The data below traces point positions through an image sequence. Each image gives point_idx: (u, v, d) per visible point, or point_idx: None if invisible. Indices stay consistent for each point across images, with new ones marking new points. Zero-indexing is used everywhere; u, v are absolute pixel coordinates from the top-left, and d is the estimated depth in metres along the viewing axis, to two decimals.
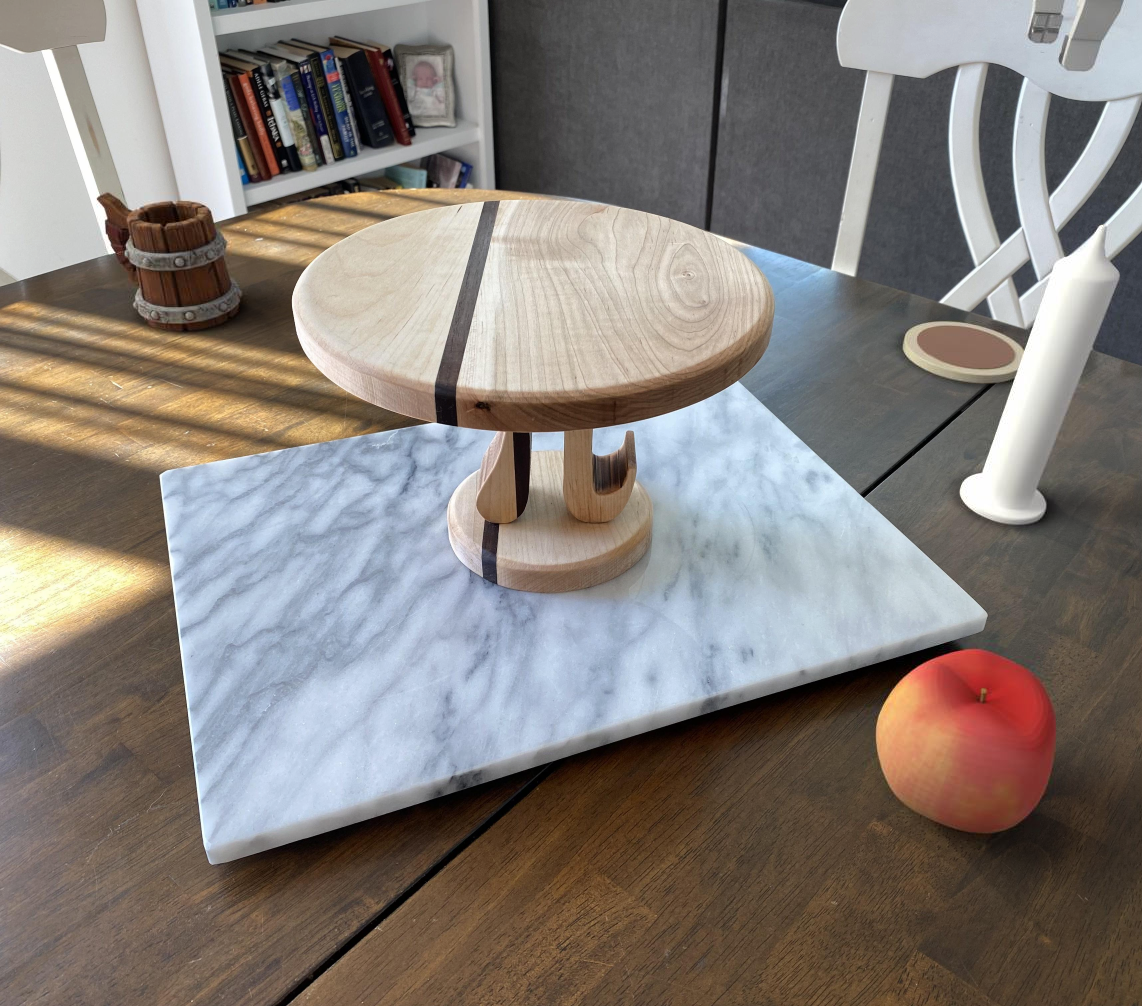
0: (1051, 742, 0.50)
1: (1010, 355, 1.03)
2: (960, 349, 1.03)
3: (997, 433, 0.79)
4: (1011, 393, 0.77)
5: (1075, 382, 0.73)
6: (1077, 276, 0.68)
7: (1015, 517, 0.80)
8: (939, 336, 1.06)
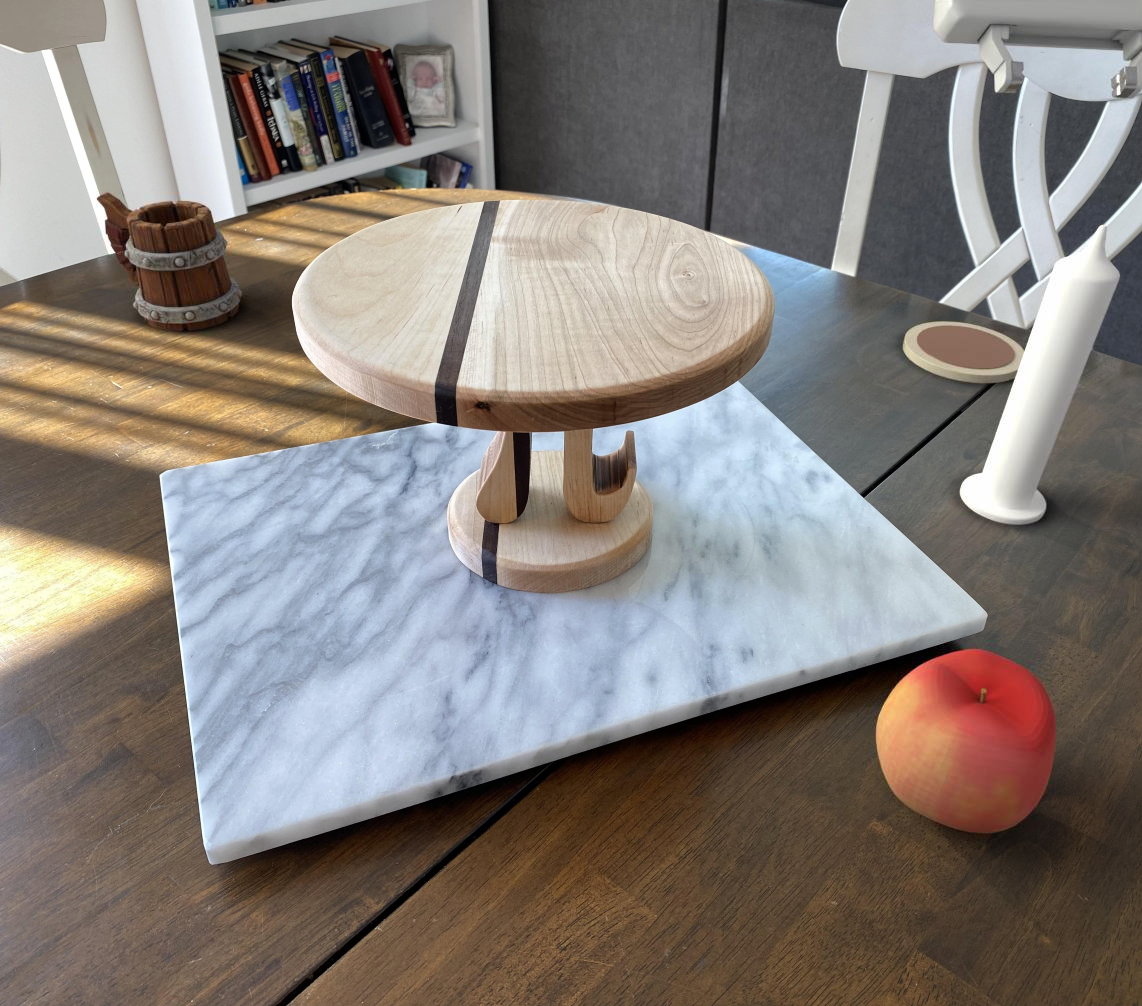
0: (1051, 742, 0.50)
1: (1010, 355, 1.03)
2: (960, 349, 1.03)
3: (997, 433, 0.79)
4: (1011, 393, 0.77)
5: (1075, 382, 0.73)
6: (1077, 276, 0.68)
7: (1015, 517, 0.80)
8: (939, 336, 1.06)
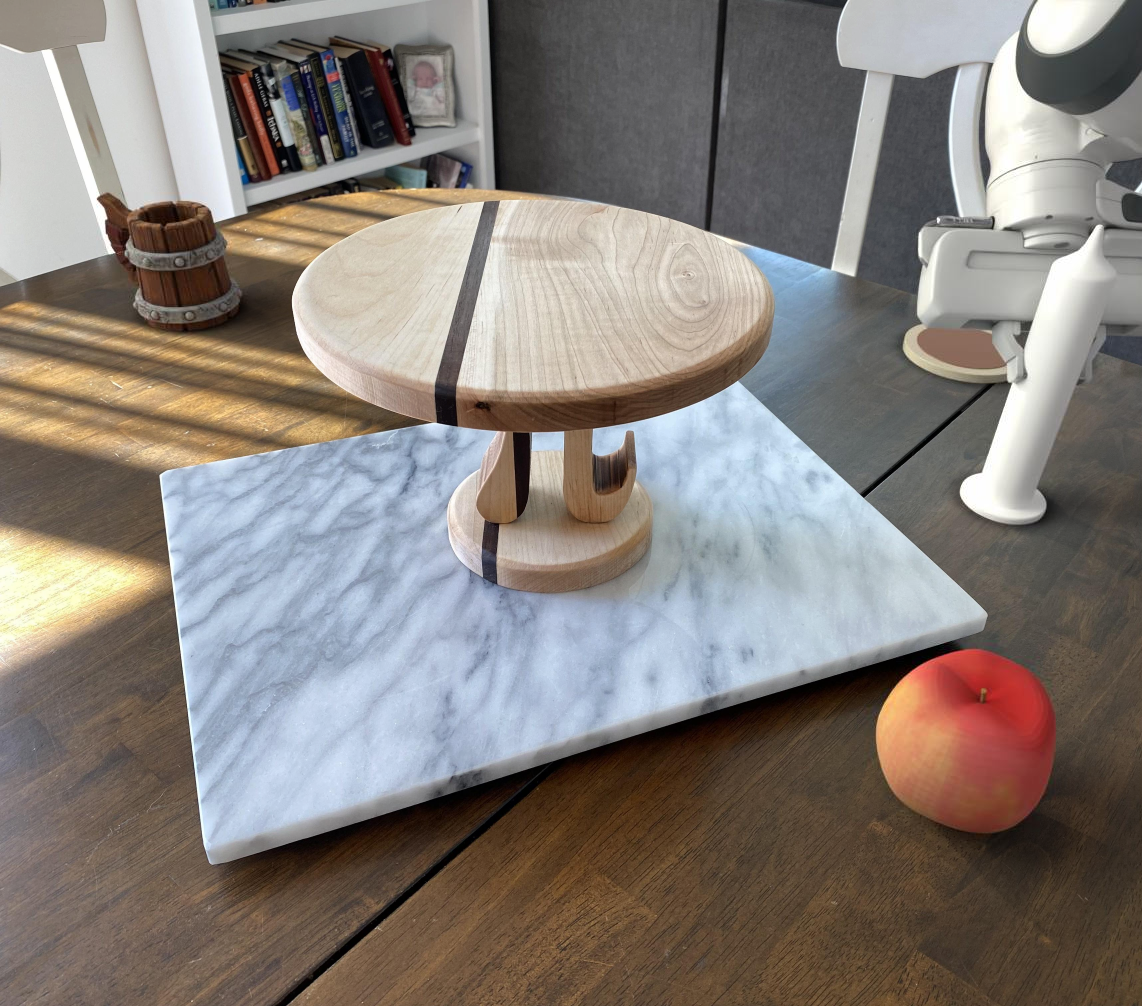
0: (1051, 742, 0.50)
1: None
2: (960, 349, 1.03)
3: (996, 433, 0.79)
4: (1010, 393, 0.77)
5: (1074, 382, 0.73)
6: (1074, 276, 0.68)
7: (1015, 517, 0.80)
8: (939, 336, 1.06)
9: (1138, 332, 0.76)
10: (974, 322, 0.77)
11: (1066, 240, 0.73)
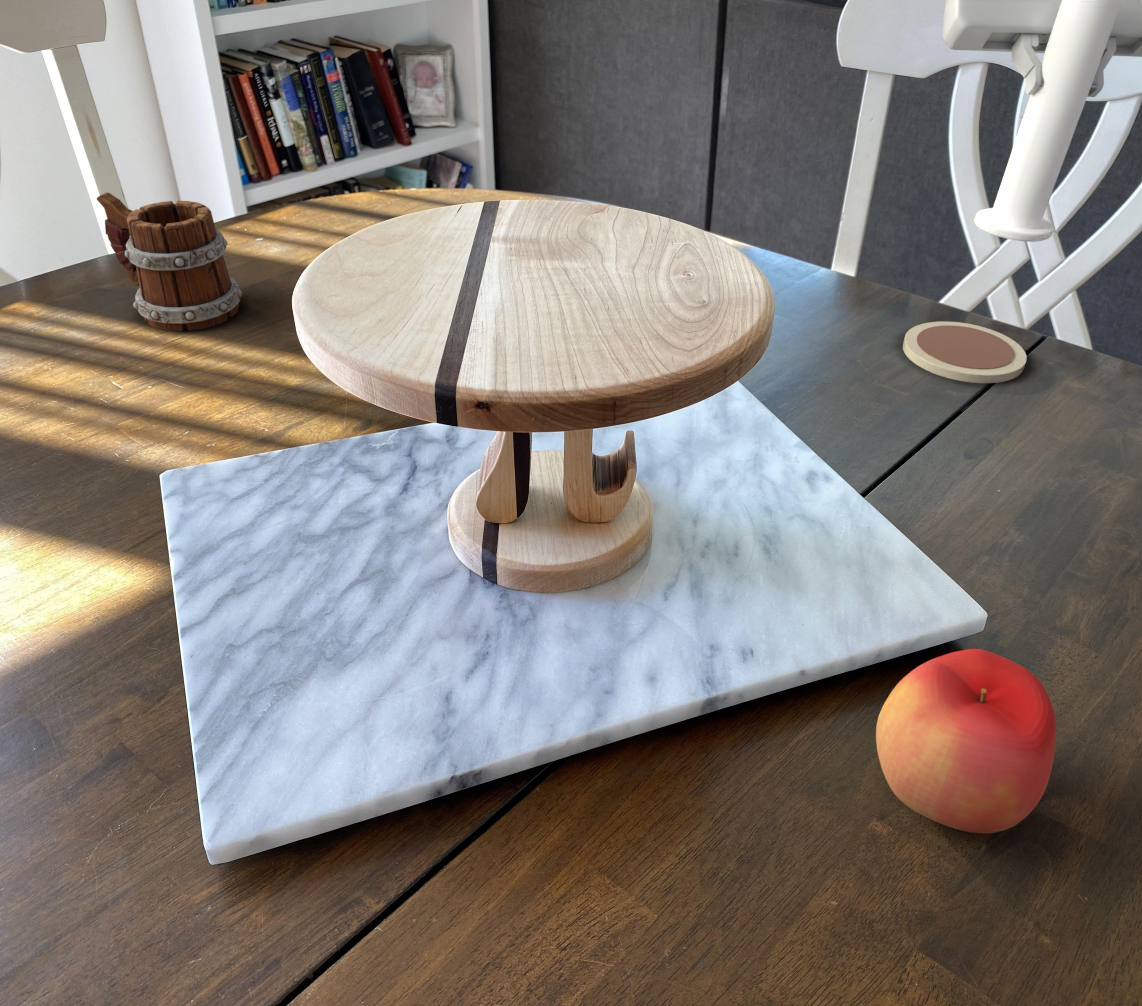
0: (1051, 742, 0.50)
1: (1010, 355, 1.03)
2: (960, 349, 1.03)
3: (1012, 152, 0.85)
4: (1027, 107, 0.83)
5: (1086, 87, 0.80)
6: None
7: (1025, 232, 0.86)
8: (939, 336, 1.06)
9: None
10: (995, 43, 0.83)
11: None
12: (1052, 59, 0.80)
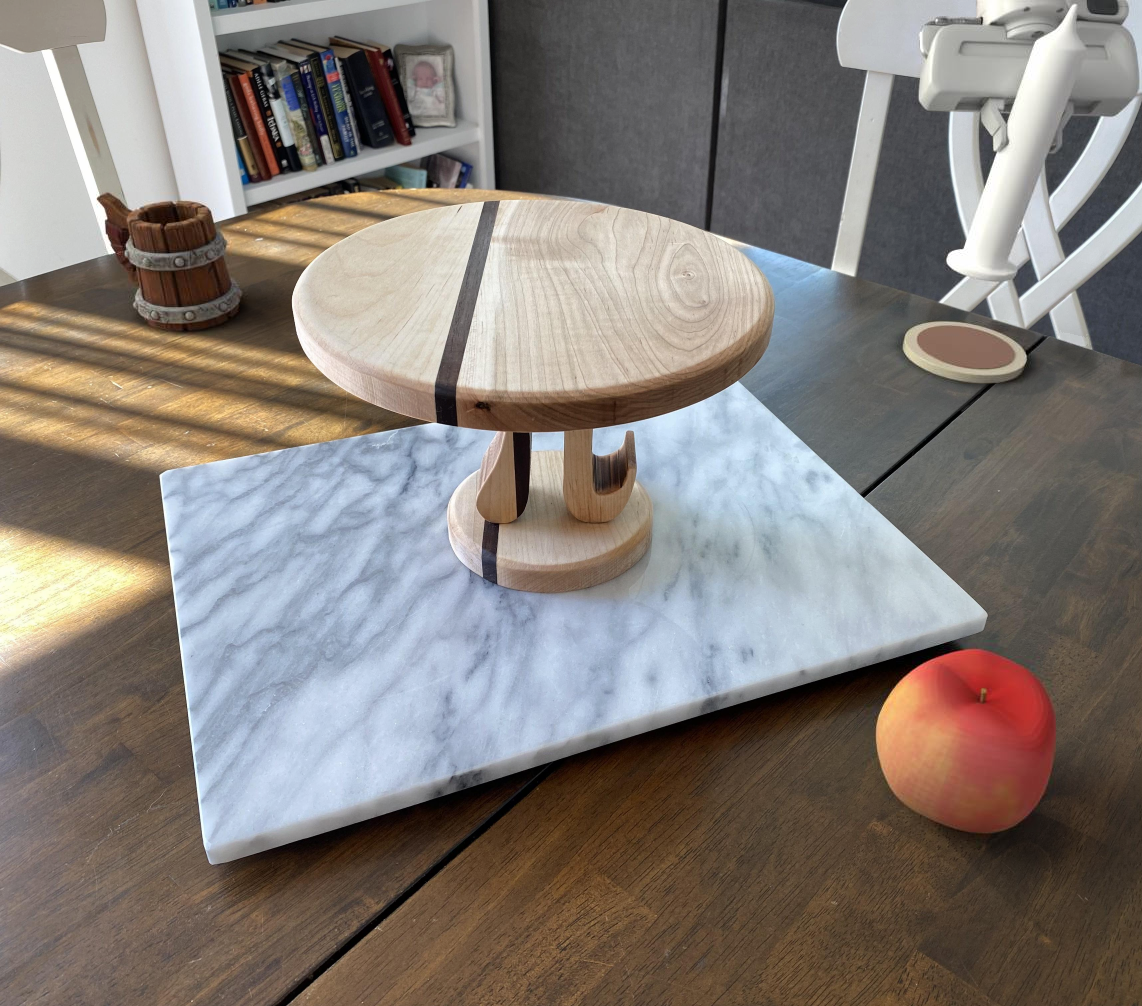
0: (1051, 742, 0.50)
1: (1010, 355, 1.03)
2: (960, 349, 1.03)
3: (980, 201, 0.95)
4: (994, 162, 0.93)
5: (1046, 147, 0.89)
6: (1052, 45, 0.85)
7: (991, 273, 0.96)
8: (939, 336, 1.06)
9: (1101, 110, 0.92)
10: (966, 105, 0.93)
11: (1041, 29, 0.89)
12: (1016, 121, 0.89)
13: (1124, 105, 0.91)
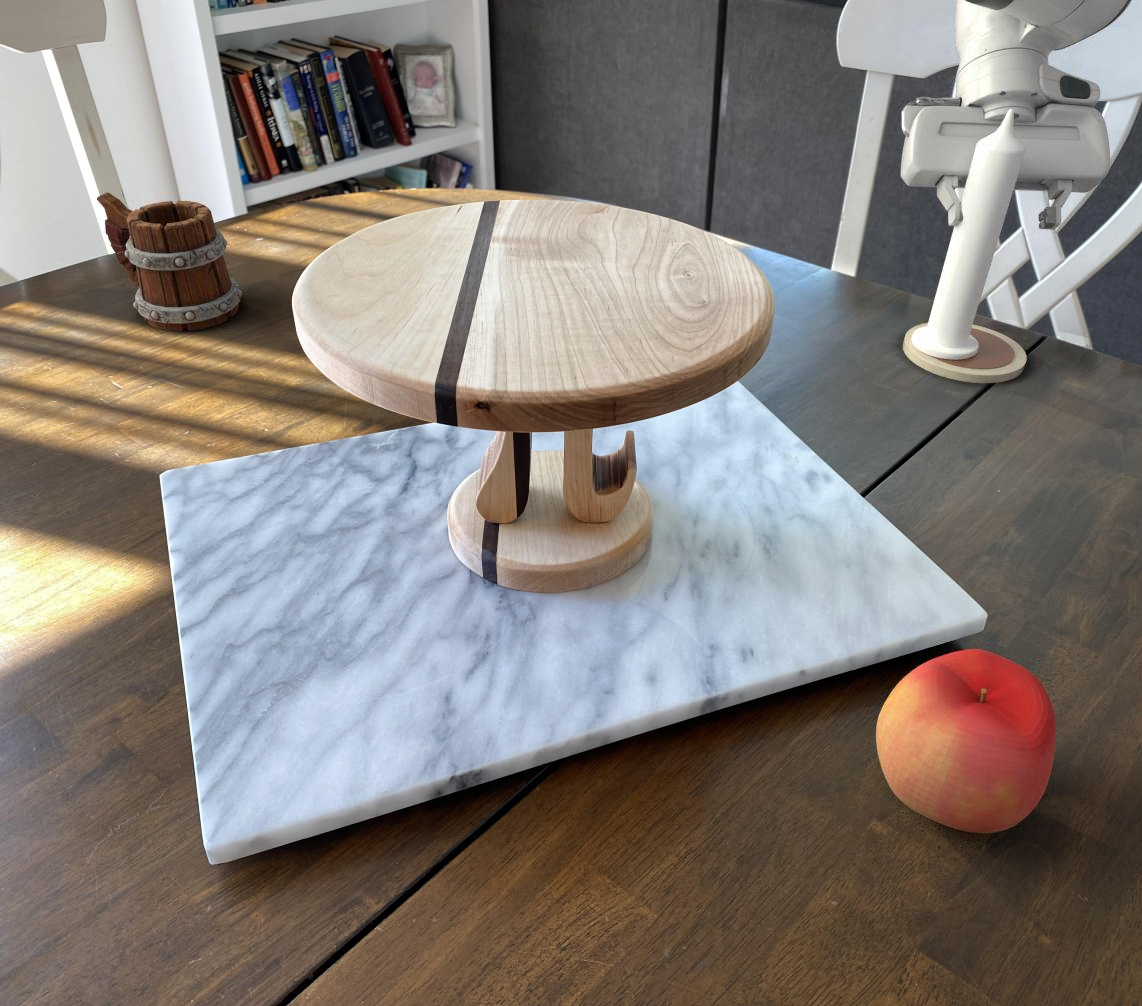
0: (1051, 742, 0.50)
1: (1010, 355, 1.03)
2: None
3: (938, 285, 1.00)
4: (948, 251, 0.98)
5: (995, 237, 0.95)
6: (992, 148, 0.90)
7: (953, 353, 1.01)
8: None
9: (1074, 187, 0.96)
10: None
11: (1016, 112, 0.94)
12: (965, 215, 0.94)
13: (1096, 183, 0.95)
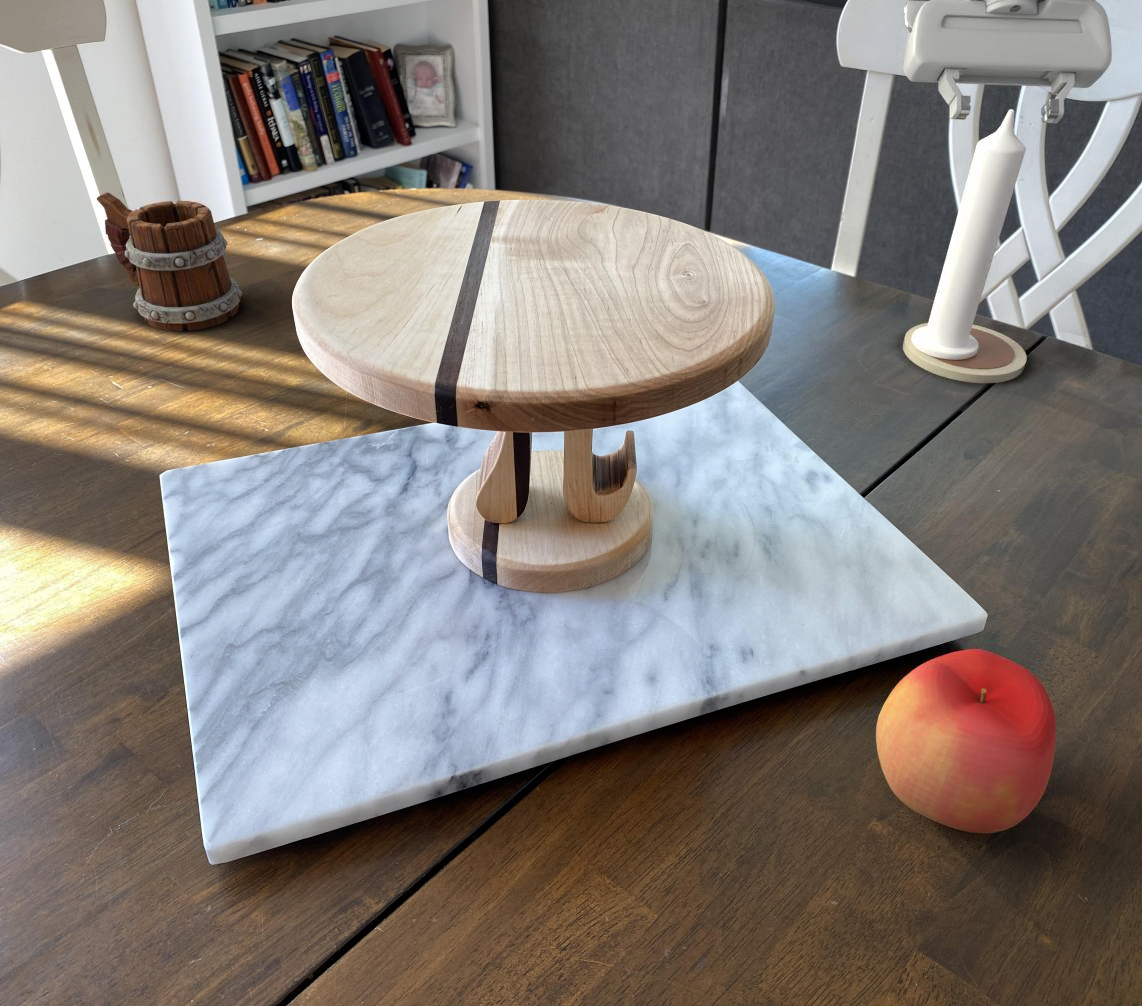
0: (1051, 742, 0.50)
1: (1010, 355, 1.03)
2: None
3: (938, 285, 1.00)
4: (948, 251, 0.98)
5: (995, 237, 0.95)
6: (992, 148, 0.90)
7: (953, 353, 1.01)
8: None
9: (1076, 81, 0.97)
10: None
11: (1018, 3, 0.94)
12: (965, 215, 0.94)
13: (1097, 76, 0.96)
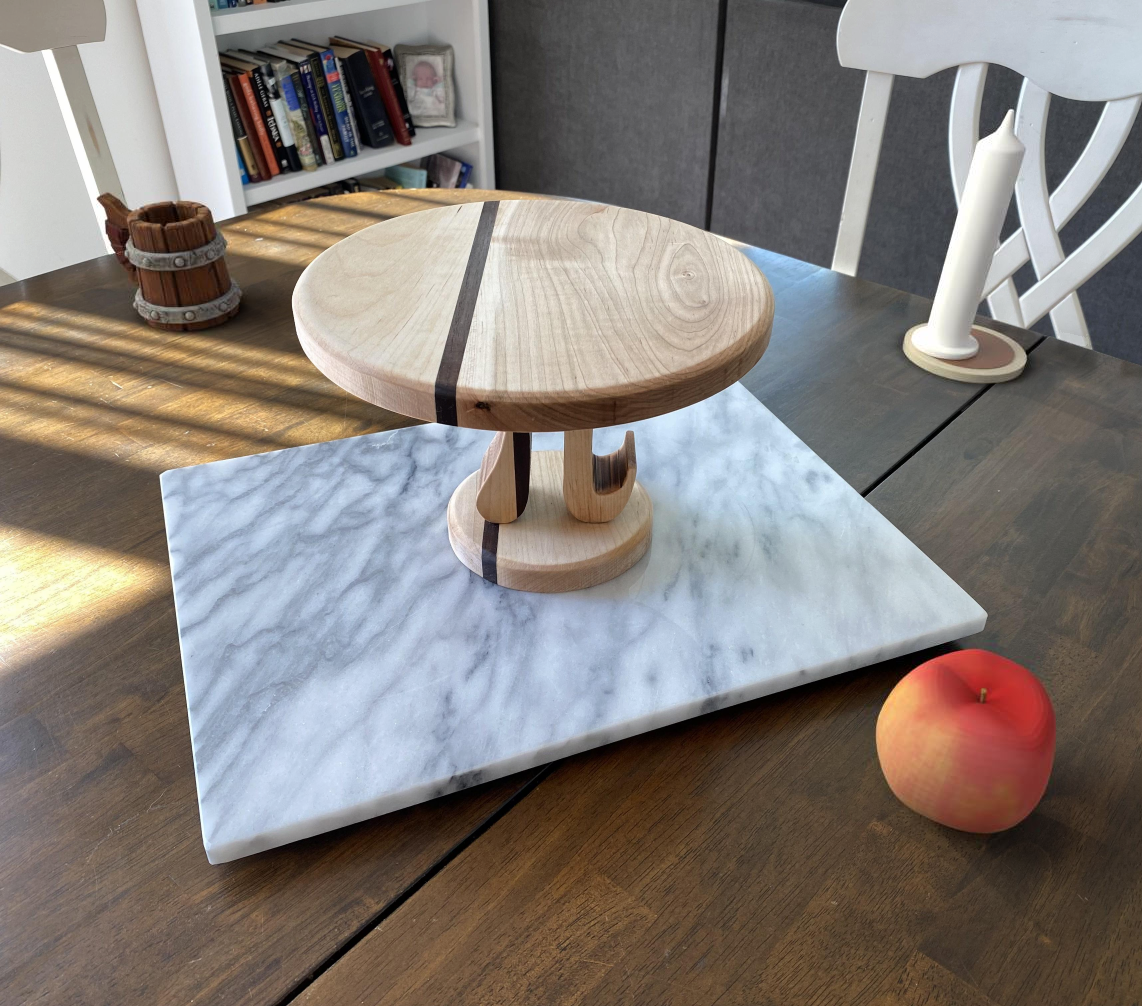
0: (1051, 742, 0.50)
1: (1010, 355, 1.03)
2: None
3: (938, 285, 1.00)
4: (948, 251, 0.98)
5: (995, 237, 0.95)
6: (992, 148, 0.90)
7: (953, 353, 1.01)
8: None
9: None
10: None
11: None
12: (965, 215, 0.94)
13: None
